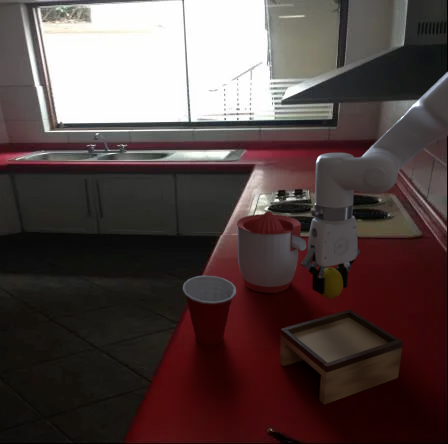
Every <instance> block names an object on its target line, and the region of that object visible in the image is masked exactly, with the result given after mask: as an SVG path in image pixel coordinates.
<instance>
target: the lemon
mask: <svg viewBox="0 0 448 444" xmlns="http://www.w3.org/2000/svg"><path fill="white" fill-rule="evenodd" d="M323 277H324V278H325V290H324V294H320V296H322V297H323V298H325V299H327V300H328V301H329V300H332V299H335V298H338V297H339V296H340V295H341V293H342V291H343V289H344V288H343V279H342V276H341V274H340V272H339V271H337V270H336V268H334V267H333V266H330V267H326V268H325V271H324V274H323Z"/></svg>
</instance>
